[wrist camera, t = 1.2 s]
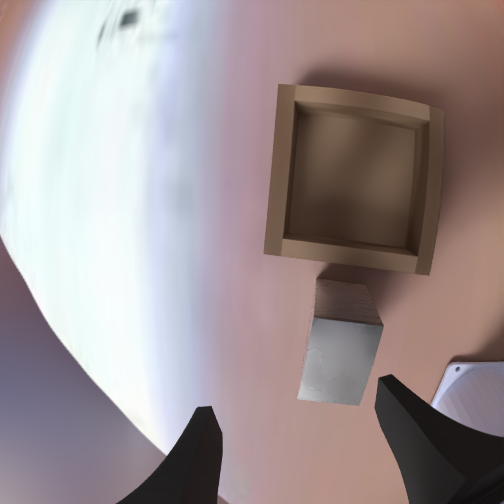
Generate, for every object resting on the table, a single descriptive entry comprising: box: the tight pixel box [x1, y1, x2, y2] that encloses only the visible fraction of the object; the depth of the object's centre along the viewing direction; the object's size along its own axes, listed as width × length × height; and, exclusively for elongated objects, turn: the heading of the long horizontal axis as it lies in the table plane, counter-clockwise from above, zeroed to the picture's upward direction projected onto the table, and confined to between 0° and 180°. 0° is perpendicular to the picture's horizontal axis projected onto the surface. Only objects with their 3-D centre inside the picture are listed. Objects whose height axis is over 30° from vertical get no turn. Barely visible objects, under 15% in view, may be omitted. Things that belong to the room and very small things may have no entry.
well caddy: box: [264, 84, 444, 276], centre depth 17 cm, size 10×10×4 cm
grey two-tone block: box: [298, 278, 384, 406], centre depth 17 cm, size 4×5×7 cm
